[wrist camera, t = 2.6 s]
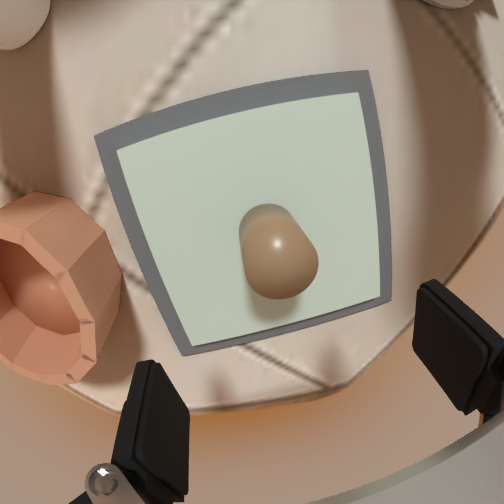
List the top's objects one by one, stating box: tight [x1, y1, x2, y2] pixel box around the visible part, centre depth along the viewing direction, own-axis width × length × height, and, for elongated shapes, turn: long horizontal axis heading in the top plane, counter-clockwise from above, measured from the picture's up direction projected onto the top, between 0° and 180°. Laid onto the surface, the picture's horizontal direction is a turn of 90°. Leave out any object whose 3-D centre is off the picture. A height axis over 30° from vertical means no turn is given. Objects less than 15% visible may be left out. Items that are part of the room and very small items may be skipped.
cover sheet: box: [116, 92, 380, 346], centre depth 17 cm, size 15×15×6 cm
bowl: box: [0, 191, 122, 385], centre depth 17 cm, size 13×13×6 cm
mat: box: [94, 70, 392, 356], centre depth 20 cm, size 18×18×1 cm
